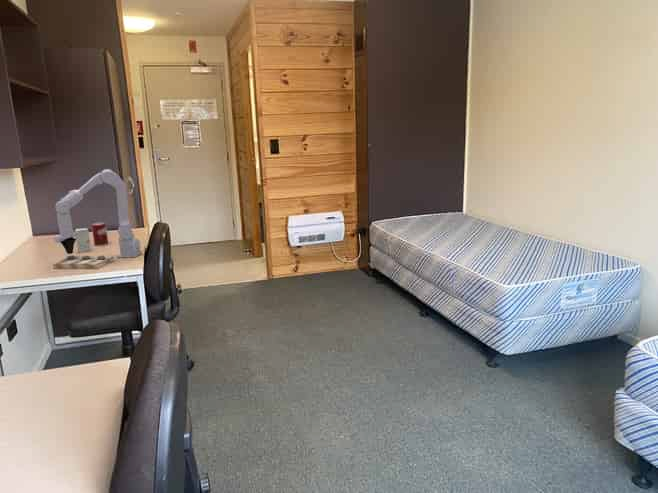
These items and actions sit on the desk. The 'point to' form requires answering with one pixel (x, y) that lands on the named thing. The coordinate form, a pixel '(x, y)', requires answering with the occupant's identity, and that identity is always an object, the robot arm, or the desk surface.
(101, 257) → the button
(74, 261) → the button board
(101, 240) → the soda can
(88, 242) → the skincare box
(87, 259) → the middle button
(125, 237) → the robot arm
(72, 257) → the button
